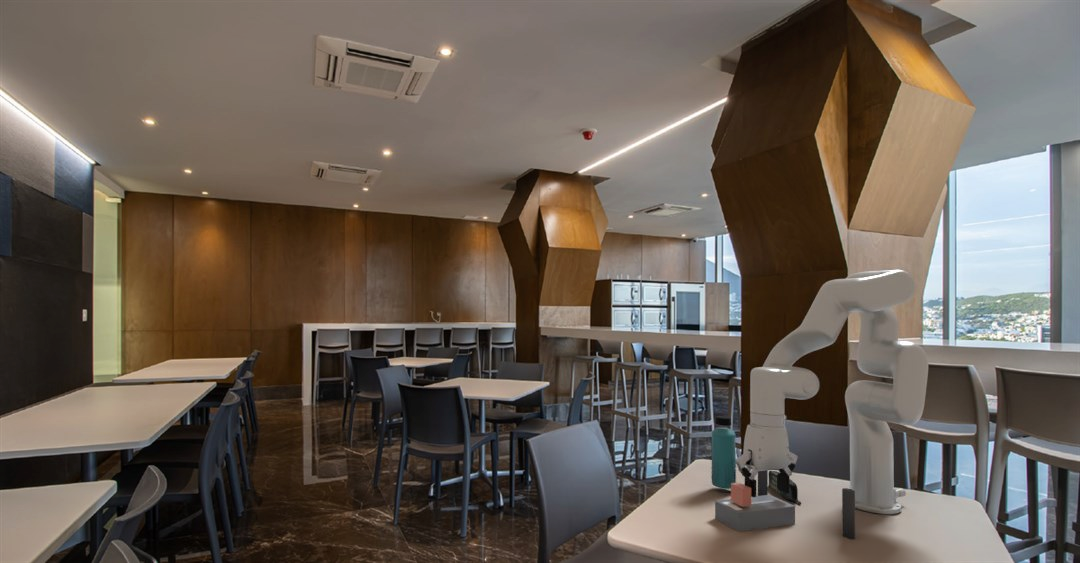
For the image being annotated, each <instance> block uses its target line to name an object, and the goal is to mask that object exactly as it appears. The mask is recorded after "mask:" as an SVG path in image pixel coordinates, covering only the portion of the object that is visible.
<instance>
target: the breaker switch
mask: <svg viewBox="0 0 1080 563" xmlns="http://www.w3.org/2000/svg"><path fill="white" fill-rule="evenodd" d="M730 499H731V501H732V502H734V503H736V504H738V505H740V506H742V507H746V506H751V488H750V487H748V486H746V485H745V483H744V484H743V483H741V482H736V483H731V489H730Z"/></svg>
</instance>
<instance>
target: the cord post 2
mask: <svg viewBox="0 0 1080 563" xmlns="http://www.w3.org/2000/svg"><path fill="white" fill-rule="evenodd" d="M841 493H842V495H841V500H842V501H841V502H842V503H841V504H842V506H841V509H842V511H841V512H842V516H841V517H842V518H841V519H842V523H841V524H842V537H843V538H845V539H849V540H855V539H856V508H855V491H854V490H852V489H850V488H847V487H844V488H841Z"/></svg>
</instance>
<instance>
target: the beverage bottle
mask: <svg viewBox="0 0 1080 563" xmlns="http://www.w3.org/2000/svg"><path fill="white" fill-rule="evenodd" d="M714 423H715V425H717V426H727V427H715V428H714V429H713V430H712V431H711V456H710V457H711V458H710V461H711V467H710V468H711V478H710V479H711V481H710V482H711V484H712V485H713V486H714V487H716V488H720V489H725V490H726V489H728V490H729V489H730V490H731V483H737V469H736V468H737V464H736V459H737V458H736V457H737V456H736V455H737V454H736V453H737V450H736V433H735V432H734V431H733V429H731V428H728V427H729V426H732V419H731V417H730V416H727V415H726V416H725V415H717V416H715V422H714Z"/></svg>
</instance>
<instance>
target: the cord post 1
mask: <svg viewBox="0 0 1080 563" xmlns="http://www.w3.org/2000/svg"><path fill="white" fill-rule="evenodd" d="M768 488H769V470H766V471H758V473H757V496H763V495H769V493H768V491H769V490H768Z"/></svg>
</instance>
